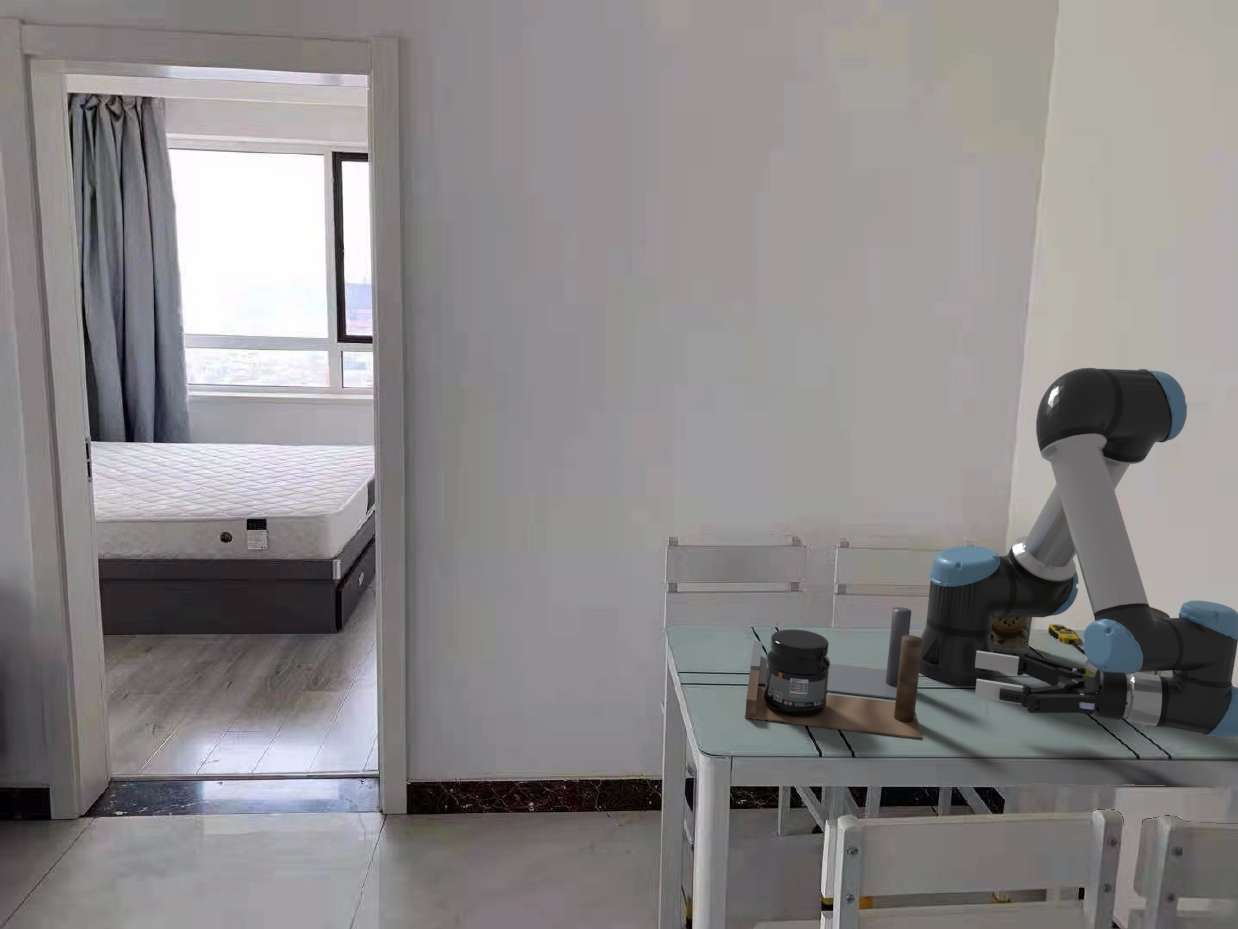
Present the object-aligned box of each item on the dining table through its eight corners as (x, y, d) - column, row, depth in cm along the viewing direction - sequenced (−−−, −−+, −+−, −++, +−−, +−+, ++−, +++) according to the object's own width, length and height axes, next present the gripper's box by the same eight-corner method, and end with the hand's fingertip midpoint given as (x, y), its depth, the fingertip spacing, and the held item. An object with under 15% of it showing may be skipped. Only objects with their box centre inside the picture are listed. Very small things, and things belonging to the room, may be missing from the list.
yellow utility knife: (1066, 623, 206) (1097, 647, 191) (1065, 631, 206) (1095, 656, 191) (1043, 622, 206) (1072, 646, 191) (1042, 630, 206) (1071, 655, 192)
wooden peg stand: (911, 705, 163) (919, 626, 160) (921, 739, 150) (930, 654, 148) (749, 687, 168) (754, 610, 165) (745, 718, 155) (750, 635, 153)
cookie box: (980, 650, 191) (989, 573, 189) (976, 639, 198) (984, 565, 195) (1028, 655, 189) (1038, 578, 187) (1022, 644, 196) (1031, 569, 193)
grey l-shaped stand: (902, 672, 177) (909, 600, 175) (910, 700, 165) (918, 622, 162) (752, 656, 182) (757, 585, 180) (749, 683, 170) (754, 607, 167)
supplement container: (797, 689, 167) (802, 624, 165) (839, 712, 158) (845, 644, 156) (750, 699, 162) (755, 633, 160) (790, 724, 153) (796, 654, 151)
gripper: (1134, 753, 132) (973, 725, 139) (1110, 690, 155) (973, 669, 162) (1141, 702, 131) (978, 677, 138) (1116, 646, 154) (977, 627, 161)
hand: (975, 672), depth 150 cm, fingers open, 13 cm apart
